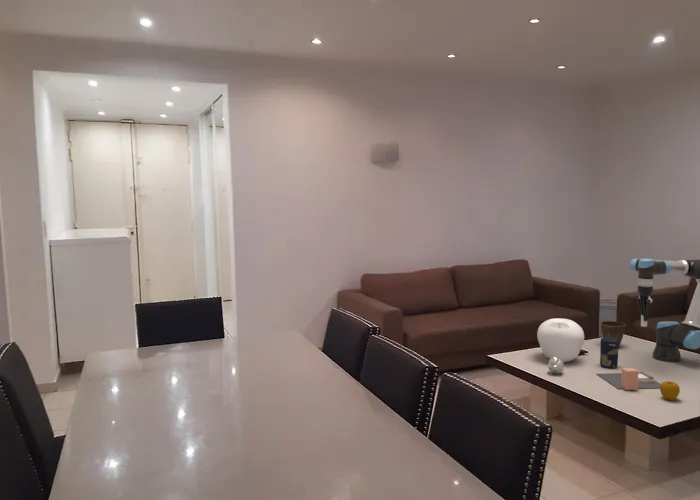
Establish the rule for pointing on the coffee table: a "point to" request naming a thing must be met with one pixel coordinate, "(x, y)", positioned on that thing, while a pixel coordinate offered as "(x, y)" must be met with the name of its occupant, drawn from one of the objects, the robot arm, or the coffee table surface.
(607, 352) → the canister
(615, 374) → the slate mat
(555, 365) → the silver round lump
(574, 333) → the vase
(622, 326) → the plant pot
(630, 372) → the pink upright block
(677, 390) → the apple
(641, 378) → the ticket booklet
